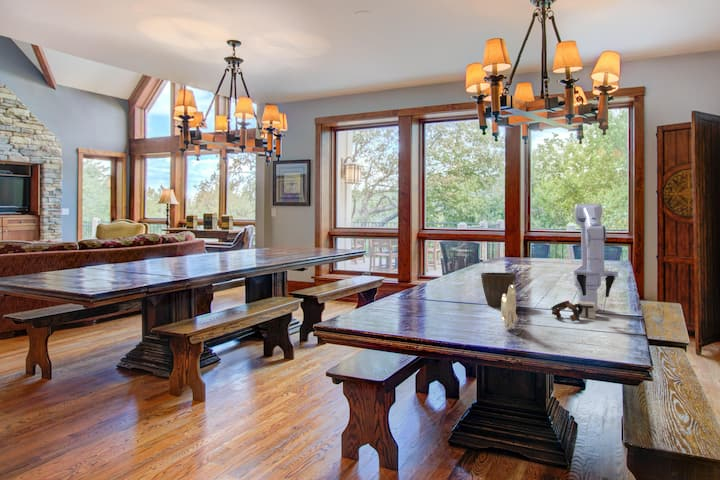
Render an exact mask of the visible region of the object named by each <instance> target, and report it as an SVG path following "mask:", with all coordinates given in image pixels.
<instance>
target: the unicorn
mask: <svg viewBox="0 0 720 480" xmlns="http://www.w3.org/2000/svg"><path fill="white" fill-rule="evenodd" d="M516 286H517V285H516V283H515V285H514V281H513V285H509V288H508V293H507V295H506V294H503V296H502V299H501V301H502V302H501V308H500V312H501V318H502V320H503V322H504V325H503V327H504V328H505V329H506V328H512V327H513V328H515V327H516V326H517V324H518V315H517V312H516V310H517V297H516V295H517V289H516ZM512 319H513V320H512Z"/></svg>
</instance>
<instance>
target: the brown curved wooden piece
mask: <svg viewBox="0 0 720 480" xmlns="http://www.w3.org/2000/svg"><path fill="white" fill-rule="evenodd" d="M567 308H568V309H569V310H571V312H572V314H571V315H569V319H570V320H571V322H576V321H580V317H579V315H580V314H581V313H582V312H583V307H582V306H581V305H580V304H578V303H575V304H573V303H571V302H570V300H564V301H562V302H558V303H557V304H555V305H553V306H552V307H551V308H550V309H551V310H552V311H551V314H552V315H554V316H556V318H560V317H562V314H561V312H560V311H564V310H566V309H567ZM577 308H578V310H577Z"/></svg>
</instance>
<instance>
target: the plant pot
mask: <svg viewBox="0 0 720 480" xmlns="http://www.w3.org/2000/svg"><path fill="white" fill-rule="evenodd" d="M480 276H481V283H482V289H483V293H484V298H485V300H486V303H487V306H488V307H490V306H491V307H493V308H500V309H501V302H502V301H501V299H502V296H503V294H506V295H507V293H508V288H509V285H513V281H514V285H515V284H516V279H517V273H512V272H481V273H480ZM491 307H490V308H491Z"/></svg>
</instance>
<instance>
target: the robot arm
mask: <svg viewBox="0 0 720 480" xmlns="http://www.w3.org/2000/svg"><path fill="white" fill-rule="evenodd" d="M602 213H603V205H602V203H600V202H599V203H598V202H597V203H576V204H575V205H574V222H575V224H576V225H578V226H579V228H580V234H581V235H580V237H581V238H580V239H581V243H580V244H581V246H580V247H581V264H580V265H578V266H577V267H576V268H575V269H574V270H573V278H574V279H573V282H574V286H575V287H576V288H577V304H578V303H579V302H595V312H597V311H599V310H601V307H599V304H598V303H599V302H598V299H599V298H598V297H599V296H598V289H599V288H601V286H602V277H604V279H605V297H606V298H609V297H610V291H611V288H612V286H613V284H614V282H615V280H616V278H619V271H618V270H617V271H615V270H613V271H611V270H605V242H606V239H607V229H606V226H605V225H602V221H601V218H602V215H603V214H602ZM577 310H578V308H577Z"/></svg>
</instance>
